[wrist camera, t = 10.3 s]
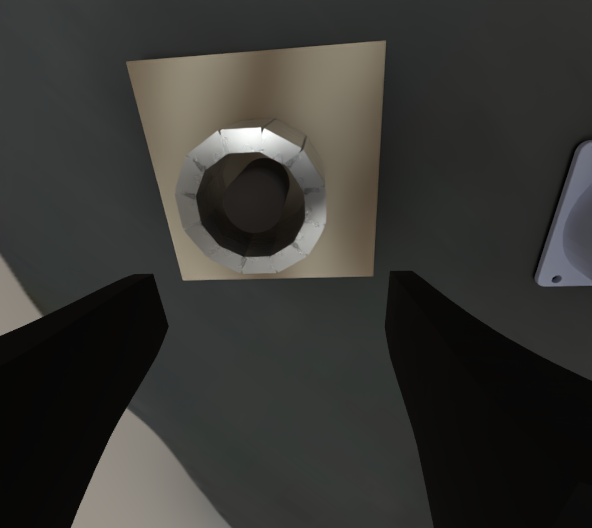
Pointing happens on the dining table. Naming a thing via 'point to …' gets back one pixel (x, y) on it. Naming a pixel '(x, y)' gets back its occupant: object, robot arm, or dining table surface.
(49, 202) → the dining table surface
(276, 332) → the dining table surface
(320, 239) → the post stand
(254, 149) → the steel ring
